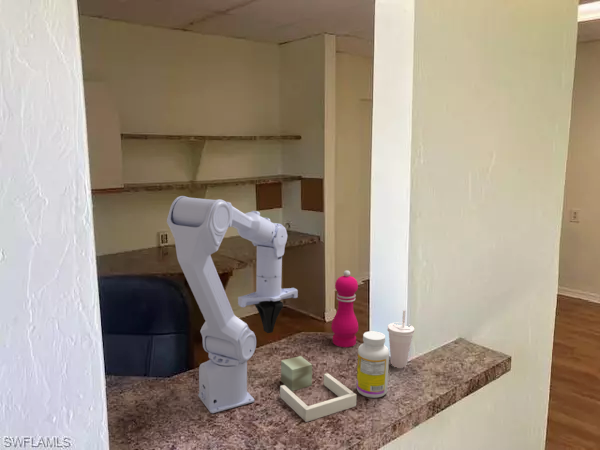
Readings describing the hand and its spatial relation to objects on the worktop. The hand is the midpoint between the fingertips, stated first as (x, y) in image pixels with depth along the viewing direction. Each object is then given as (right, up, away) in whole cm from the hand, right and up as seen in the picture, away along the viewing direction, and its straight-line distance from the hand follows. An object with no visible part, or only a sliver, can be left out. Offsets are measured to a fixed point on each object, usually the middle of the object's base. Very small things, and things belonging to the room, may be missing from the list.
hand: (268, 331), depth 113 cm
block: (+7, -11, -5) cm, 13 cm away
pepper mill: (+19, -7, +18) cm, 27 cm away
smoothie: (+31, -10, +5) cm, 33 cm away
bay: (+11, -12, -12) cm, 20 cm away
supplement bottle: (+23, -12, -7) cm, 27 cm away
